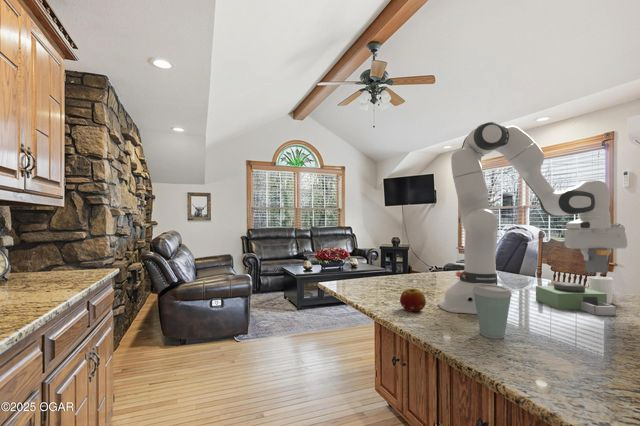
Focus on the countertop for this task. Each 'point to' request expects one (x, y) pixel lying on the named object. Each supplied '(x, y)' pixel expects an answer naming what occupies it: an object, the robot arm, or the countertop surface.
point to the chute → (597, 260)
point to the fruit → (412, 300)
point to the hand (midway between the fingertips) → (595, 260)
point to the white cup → (602, 286)
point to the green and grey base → (574, 298)
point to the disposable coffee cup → (492, 309)
